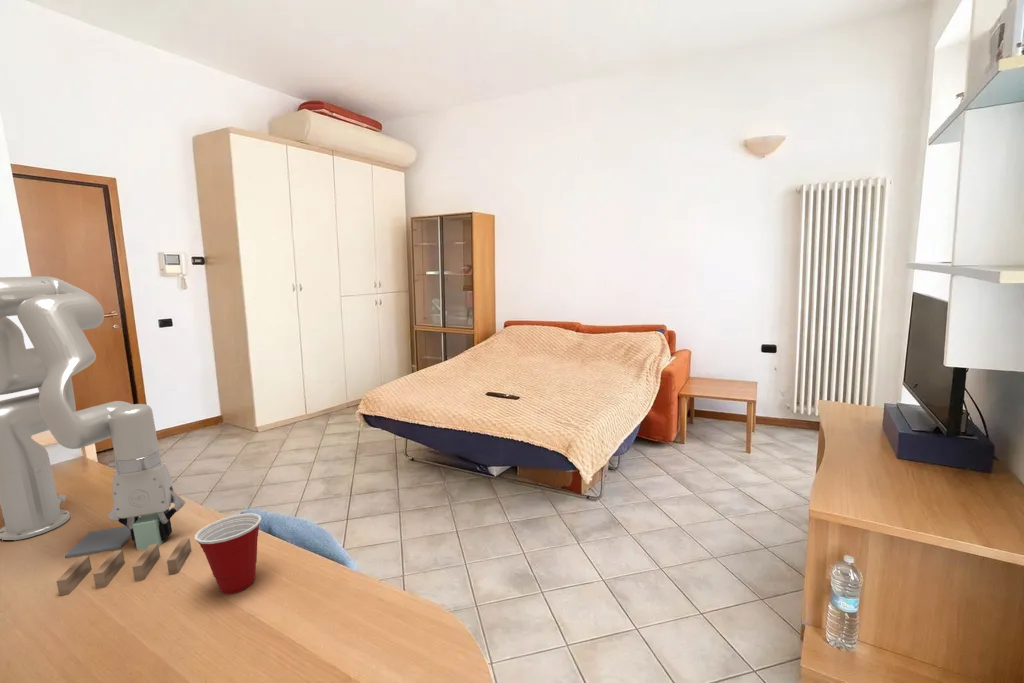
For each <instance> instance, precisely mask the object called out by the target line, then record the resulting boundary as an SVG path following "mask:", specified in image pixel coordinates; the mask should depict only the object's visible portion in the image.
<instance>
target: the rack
mask: <svg viewBox="0 0 1024 683" xmlns="http://www.w3.org/2000/svg"><path fill="white" fill-rule="evenodd" d="M175 546H176V547H174V549H173V550H172V552H171V554H170V556H169V557H168V558H167V559H166V563H167V568H168V569H167V570H168V574H169V575H174V574H178V573H179V572H180V571H181V569H182V568H183V566H184V565H185V563H186V561H187V559H188V558H189V555H191V553H190V552H192V551H193V550H192V544H191V540H190V537H186V538H182V539H180V540H179V541H178V543H177V545H175ZM160 553H161V552H160V546H158V543H157V544H152V545H149V546H148V548H147V549H145V550H144V552H143V553H142V554H141V556H140V557H139V558H138V559H137V561H136V562H135V563H134V564H133V566H132V573H133V578H134V582H138V581H139V582H140V581H143V580H145V579H146V577H147V576H148V575H149V573H150V572H151V571H152V569H153V568H154V566H155V564H157V562H158V561H157V560H159V559H160V558H161V554H160ZM159 557H160V558H159ZM125 564H126V560H125V554H124V551H123V549H117V550H113V552H112V553H111V554H109V556H108V557H107V558H106V559H105V561H103V563H102V564H101V565H100V566H99V567H98V568H97V570H95V572H94V573H93V574H92V575H93V580H94V585H95V588H96V589H102V588H106V587H107V586H108V585H109V583H110V582H111V581H112V580H113V579H114V577H115V576H116V575H117V574H118V572H119V571H120V570H121V568H122V567H123V566H124V565H125ZM92 570H93V568H92V563H91V558H90V555H84V556H80V557H79V558H78V559H77V560H76V561H75V562H73V564H71V565H70V566H69V568H68V569H67V570H66V571H65V572H64V573H63V574H62V575H61V576H60V577H59V578H58V579H57V580H56V587H57V591H58V595H59V597H61V596H66V595H70V594H71V593H72V591H73V590H74V589H75V588H76V587H77V586H78V585H79V584H80V583H81V582H82V580H83V579H85V578H86V576H87V575H88V574H89V573H90V572H91V571H92Z"/></svg>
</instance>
